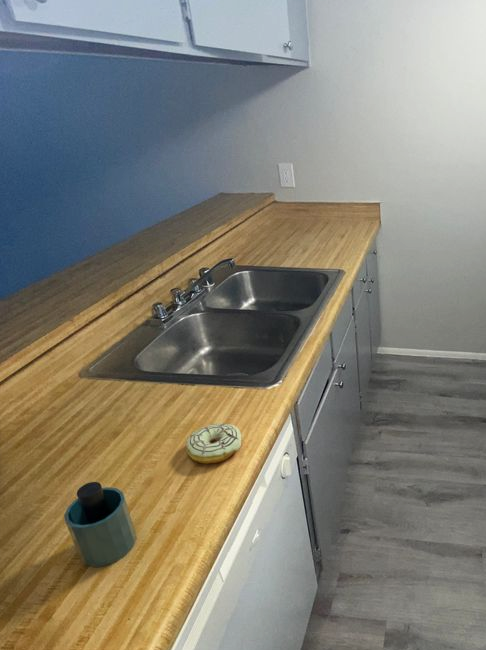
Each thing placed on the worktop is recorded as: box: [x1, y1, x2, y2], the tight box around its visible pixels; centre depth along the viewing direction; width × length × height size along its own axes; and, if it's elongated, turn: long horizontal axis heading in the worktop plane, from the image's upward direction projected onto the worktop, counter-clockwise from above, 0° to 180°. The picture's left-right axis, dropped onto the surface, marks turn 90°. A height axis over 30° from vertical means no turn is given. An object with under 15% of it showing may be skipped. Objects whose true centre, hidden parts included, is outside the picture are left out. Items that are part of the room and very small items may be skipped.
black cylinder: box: [76, 481, 111, 524], centre depth 75 cm, size 3×3×12 cm
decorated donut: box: [185, 423, 243, 465], centre depth 98 cm, size 10×11×4 cm
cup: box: [63, 486, 137, 568], centre depth 76 cm, size 8×8×9 cm
